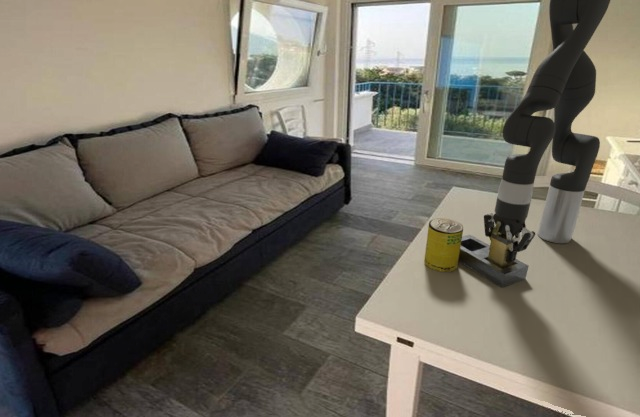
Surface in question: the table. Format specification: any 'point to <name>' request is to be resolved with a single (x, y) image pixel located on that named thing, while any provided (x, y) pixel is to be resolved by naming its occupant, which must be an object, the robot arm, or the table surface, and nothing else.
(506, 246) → the tan banded block
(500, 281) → the cinder block
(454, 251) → the beverage can
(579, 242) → the table surface
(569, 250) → the table surface
